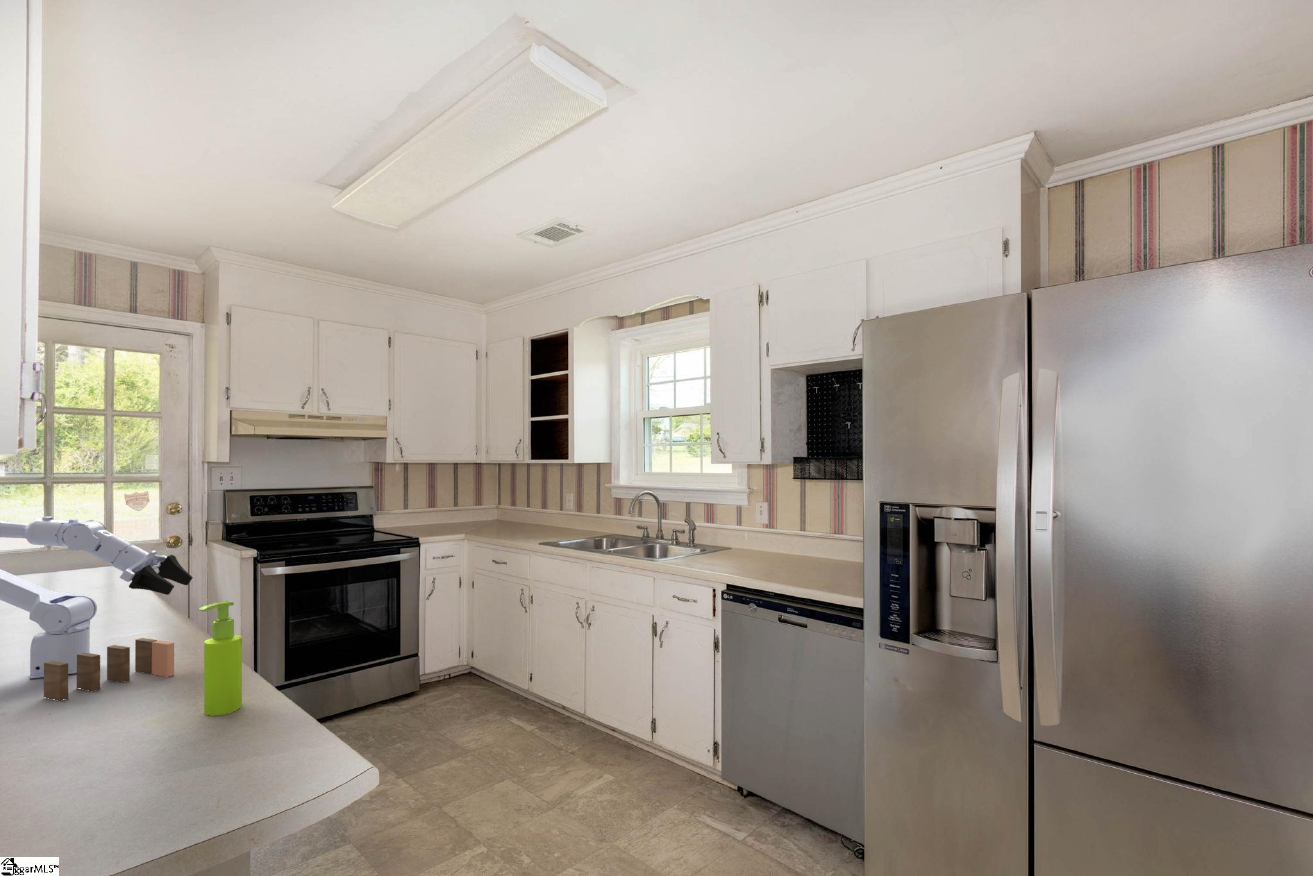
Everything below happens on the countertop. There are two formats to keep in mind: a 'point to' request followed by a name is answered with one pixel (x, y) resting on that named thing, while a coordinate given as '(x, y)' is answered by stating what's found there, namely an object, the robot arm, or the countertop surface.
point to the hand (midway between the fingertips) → (180, 586)
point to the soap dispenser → (222, 664)
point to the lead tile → (163, 658)
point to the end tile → (56, 680)
